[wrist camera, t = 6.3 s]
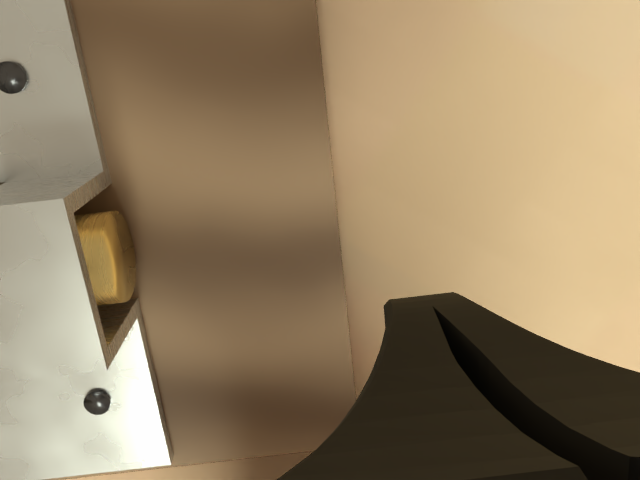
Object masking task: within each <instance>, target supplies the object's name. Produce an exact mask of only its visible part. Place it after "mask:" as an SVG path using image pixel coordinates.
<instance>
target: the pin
mask: <svg viewBox="0 0 640 480" xmlns="http://www.w3.org/2000/svg"><path fill="white" fill-rule="evenodd" d="M74 217H75V221H76V225H77V229H78V233H79V237H80V241H81V245H82V249H83V253H84V257H85V261H86V264H87V268H88V272H89V276H90V280H91V284H92V288H93V292H94V296H95V300H96V304H97V305H106V304H115V303H123V302H127V301H129V300H130V298H131V296H132V294H133V291H134V287H135V280H136V258H135V250H134V245H133V240H132V236H131V233H130V230H129V227H128V225H127V222H126V221H125V219H124V217H123V216H122V215H121V214H120V213H119V212H117V211H109V212H100V213H91V214H83V215H74Z"/></svg>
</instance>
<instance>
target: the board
mask: <svg viewBox="0 0 640 480" xmlns="http://www.w3.org/2000/svg"><path fill="white" fill-rule="evenodd" d="M70 1H71V5H72V10H73V14H74V19H75V23H76V27H77V32H78V36H79V41H80V45H81V49H82V54H83V58H84V63H85V67H86V72H87V76H88V80H89V85H90V89H91V94H92V98H93V102H94V107H95V111H96V116H97V120H98V124H99V129H100V133H101V138H102V142H103V146H104V151H105V155H106V160H107V164H108V168H109V173H110V177H111V182H112V183H111V184H110V185H109V186H108V187H106V188H105V189H104V190H102V191H101V192H100V193H99V194H97V195H96V196H95V197H93V198H92V199H91V200H90V201H88V202H87V203H86V204H84V205H83V206H82V207H81V208H79V209H78V210H77V211H75V212H74V215H83V214H91V213H100V212H109V211H117V212H119V213H120V214H121V215H122V216H123V217H124V219H125V221H126V222H127V225H128V227H129V230H130V233H131V236H132V240H133V245H134V250H135V258H136V280H135V287H134V291H133V294H132V296H131V298H130V299H133V298H138V301H139V305H140V309H141V314H142V318H143V323H144V327H145V331H146V336H147V340H148V345H149V349H150V353H151V358H152V362H153V367H154V371H155V375H156V380H157V384H158V389H159V393H160V397H161V402H162V406H163V411H164V415H165V419H166V424H167V428H168V433H169V437H170V441H171V446H172V450H173V455H174V456H173V460H172V463H171V465H165V466H156V467H147V468H139V469H130V470H121V471H112V472H104V473H95V474H86V475H77V476H69V477H60V478H51V479H43V480H63V479H72V478H81V477H89V476H98V475H107V474H116V473H124V472H133V471H142V470H151V469H159V468H168V467H177V466H185V465H194V464H203V463H212V462H220V461H229V460H238V459H247V458H255V457H264V456H273V455H281V454H290V453H299V452H308V451H315V450H316V449H317V448H318V447H319V446H320V445H321V444H322V443H323V442H324V441H325V440H326V439H327V438H328V437H329V435H330V434H331V433H332V432H333V431H334V430H335V429H336V428H337V427H338V425H339V424H340V423H341V422H342V420H343V419H344V418H345V416H346V415H347V413H348V412H349V410H350V409H351V408H352V406H353V405H354V403H355V402H356V395H355V385H354V375H353V365H352V356H351V346H350V336H349V326H348V316H347V306H346V296H345V286H344V277H343V267H342V257H341V247H340V237H339V227H338V217H337V207H336V198H335V188H334V178H333V168H332V158H331V148H330V138H329V128H328V119H327V109H326V99H325V89H324V79H323V69H322V59H321V49H320V40H319V30H318V20H317V10H316V0H70ZM3 183H5V182H3ZM3 183H0V185H1V184H3Z"/></svg>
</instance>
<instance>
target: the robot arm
mask: <svg viewBox="0 0 640 480" xmlns="http://www.w3.org/2000/svg"><path fill="white" fill-rule="evenodd" d="M384 315H385V327H386V328H385V333H384V337H383V341H382V345H381V349H380V352H379V354H378V357H377V359H376V362H375V365H374V367H373V370H372V372H371V374H370V376H369V379H368V381H367V383H366V384H365V386H364V388H363V390H362V392H361V393H360V395H359V397H358V399H357V400H356V402H355V403H354V405H353V406H352V408H351V409H350V410H349V412H348V413H347V415H346V416H345V418H344V419H343V420H342V422H341V423H340V424H339V425H338V427H337V428H336V429H335V430H334V431H333V432H332V433H331V434H330V435H329V437H328V438H327V439H326V440H325V441H324V442H323V443H322V444H321V445H320V446H319V447H318V448H317V449H316V450H315V451H314V452H313V453H311V454H310V455H309V456H308V457H307V458H305V459H304V460H303V461H301V462H300V463H299V464H297V465H296V466H295V467H293V468H292V469H291V470H289V471H288V472H287V473H285V474H284V475H283V476H281V477H280V478H278V479H277V480H640V373H639V372H636V371H632V370H629V369H625V368H622V367H619V366H616V365H613V364H610V363H607V362H604V361H601V360H598V359H595V358H592V357H589V356H586V355H584V354H581V353H578V352H576V351H573V350H571V349H568V348H566V347H563V346H561V345H559V344H556V343H554V342H552V341H550V340H547V339H545V338H543V337H541V336H538V335H536V334H534V333H532V332H530V331H528V330H526V329H524V328H522V327H520V326H518V325H516V324H514V323H512V322H510V321H508V320H506V319H504V318H502V317H500V316H498V315H497V314H495V313H493V312H491V311H489V310H487V309H486V308H484V307H482V306H480V305H478V304H476V303H474V302H473V301H471V300H469V299H467V298H465V297H463V296H461V295H459V294H456V293H454V292H451V293H443V294H434V295H425V296H417V297H408V298H400V299H391V300H389V301H388V302H387V303H386V304H385V305H384Z"/></svg>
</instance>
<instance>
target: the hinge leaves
mask: <svg viewBox="0 0 640 480" xmlns="http://www.w3.org/2000/svg"><path fill="white" fill-rule="evenodd" d="M3 182H5V183H3ZM0 183H3V184H1V185H0V480H43V479H51V478H60V477H69V476H77V475H86V474H95V473H104V472H112V471H121V470H130V469H139V468H147V467H156V466H165V465H171V463H172V460H173V456H174V455H173V450H172V446H171V441H170V437H169V433H168V428H167V424H166V419H165V415H164V411H163V406H162V402H161V397H160V393H159V389H158V384H157V380H156V375H155V371H154V367H153V362H152V358H151V353H150V349H149V345H148V340H147V336H146V331H145V327H144V323H143V318H142V314H141V309H140V305H139V301H138V298H133V299H130V300H129V301H127V302H123V303H115V304H106V305H97V304H96V300H95V296H94V292H93V288H92V284H91V280H90V276H89V272H88V268H87V264H86V261H85V257H84V253H83V249H82V245H81V241H80V237H79V233H78V229H77V225H76V221H75V217H74V212H75V211H77V210H78V209H79V208H81V207H82V206H83V205H84V204H86V203H87V202H88V201H90V200H91V199H92V198H93V197H95V196H96V195H97V194H99V193H100V192H101V191H102V190H104V189H105V188H106V187H108V186H109V185H110V184H111V183H112V182H111V177H110V173H109V168H108V164H107V160H106V155H105V151H104V146H103V142H102V138H101V133H100V129H99V124H98V120H97V116H96V111H95V107H94V102H93V98H92V94H91V89H90V85H89V80H88V76H87V72H86V67H85V63H84V58H83V54H82V49H81V45H80V41H79V36H78V32H77V27H76V23H75V19H74V14H73V10H72V5H71V1H70V0H0Z"/></svg>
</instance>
